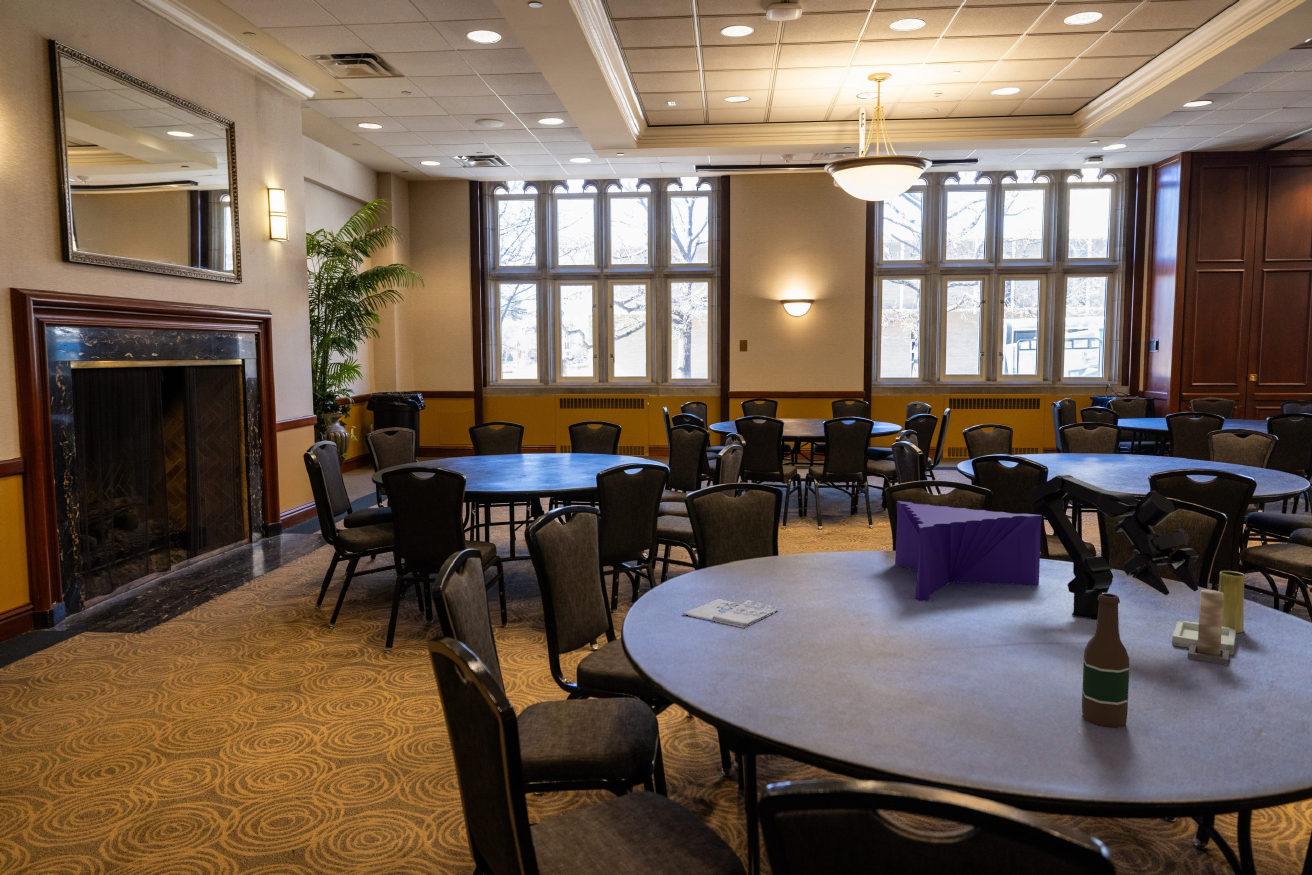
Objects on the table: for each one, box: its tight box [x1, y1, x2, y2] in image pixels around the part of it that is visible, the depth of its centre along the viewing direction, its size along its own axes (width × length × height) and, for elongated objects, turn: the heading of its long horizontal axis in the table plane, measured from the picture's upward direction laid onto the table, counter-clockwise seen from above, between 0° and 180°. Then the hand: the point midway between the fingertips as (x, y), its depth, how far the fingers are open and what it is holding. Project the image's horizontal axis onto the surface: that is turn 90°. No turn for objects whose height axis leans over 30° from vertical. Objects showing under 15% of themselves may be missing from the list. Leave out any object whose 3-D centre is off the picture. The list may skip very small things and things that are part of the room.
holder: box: [1187, 644, 1230, 666], centre depth 194 cm, size 8×8×1 cm
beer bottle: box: [1081, 592, 1130, 728], centre depth 160 cm, size 8×8×24 cm
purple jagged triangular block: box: [894, 500, 1043, 602], centre depth 255 cm, size 40×45×21 cm
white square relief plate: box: [682, 598, 781, 629], centre depth 230 cm, size 19×20×2 cm
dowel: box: [1196, 589, 1224, 657], centre depth 193 cm, size 4×4×15 cm
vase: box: [1217, 570, 1246, 634], centre depth 212 cm, size 6×6×14 cm
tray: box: [1171, 619, 1237, 656], centre depth 204 cm, size 12×15×2 cm
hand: (1182, 592), depth 199 cm, fingers open, 9 cm apart
